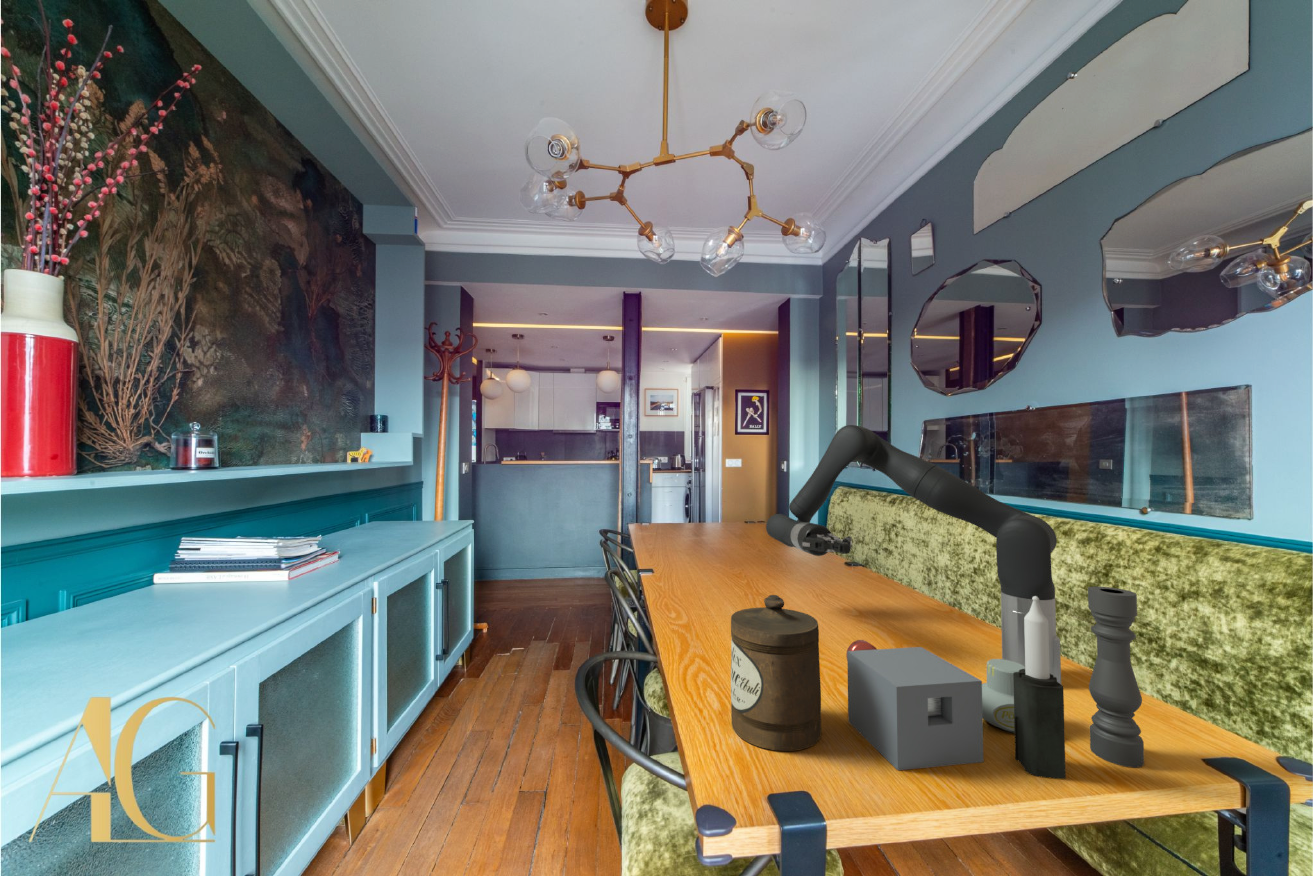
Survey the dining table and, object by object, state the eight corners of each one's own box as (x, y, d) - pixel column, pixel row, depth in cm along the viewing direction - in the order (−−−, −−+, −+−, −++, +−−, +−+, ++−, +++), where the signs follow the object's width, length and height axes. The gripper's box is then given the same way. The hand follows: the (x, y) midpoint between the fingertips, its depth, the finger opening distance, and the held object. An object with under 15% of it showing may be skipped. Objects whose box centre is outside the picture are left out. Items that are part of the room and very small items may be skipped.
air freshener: (980, 731, 86) (978, 670, 86) (964, 708, 94) (963, 652, 94) (1056, 741, 83) (1055, 678, 84) (1034, 716, 91) (1032, 659, 91)
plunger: (846, 670, 98) (846, 640, 98) (873, 668, 99) (873, 639, 99) (914, 724, 78) (913, 687, 78) (947, 721, 79) (947, 684, 79)
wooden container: (726, 705, 95) (726, 585, 96) (808, 707, 94) (807, 585, 95) (736, 751, 80) (736, 608, 81) (833, 753, 80) (831, 609, 80)
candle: (1069, 780, 73) (1064, 601, 74) (1028, 775, 74) (1024, 599, 75) (1049, 759, 78) (1045, 592, 79) (1012, 755, 79) (1008, 590, 80)
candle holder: (1099, 762, 78) (1095, 593, 78) (1083, 740, 83) (1079, 584, 84) (1152, 771, 75) (1147, 598, 76) (1132, 749, 81) (1127, 588, 82)
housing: (848, 721, 89) (847, 651, 90) (921, 715, 91) (920, 646, 92) (897, 770, 75) (896, 686, 76) (983, 762, 77) (981, 680, 78)
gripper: (785, 524, 129) (817, 532, 112) (834, 522, 132) (873, 530, 114) (786, 554, 129) (818, 567, 112) (835, 552, 131) (874, 564, 114)
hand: (846, 548), depth 113 cm, fingers closed
